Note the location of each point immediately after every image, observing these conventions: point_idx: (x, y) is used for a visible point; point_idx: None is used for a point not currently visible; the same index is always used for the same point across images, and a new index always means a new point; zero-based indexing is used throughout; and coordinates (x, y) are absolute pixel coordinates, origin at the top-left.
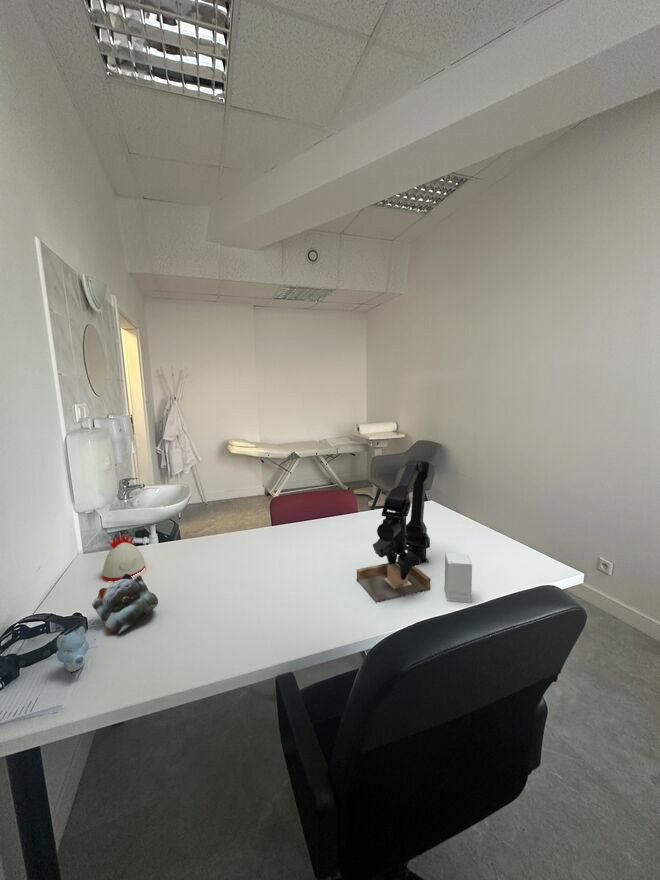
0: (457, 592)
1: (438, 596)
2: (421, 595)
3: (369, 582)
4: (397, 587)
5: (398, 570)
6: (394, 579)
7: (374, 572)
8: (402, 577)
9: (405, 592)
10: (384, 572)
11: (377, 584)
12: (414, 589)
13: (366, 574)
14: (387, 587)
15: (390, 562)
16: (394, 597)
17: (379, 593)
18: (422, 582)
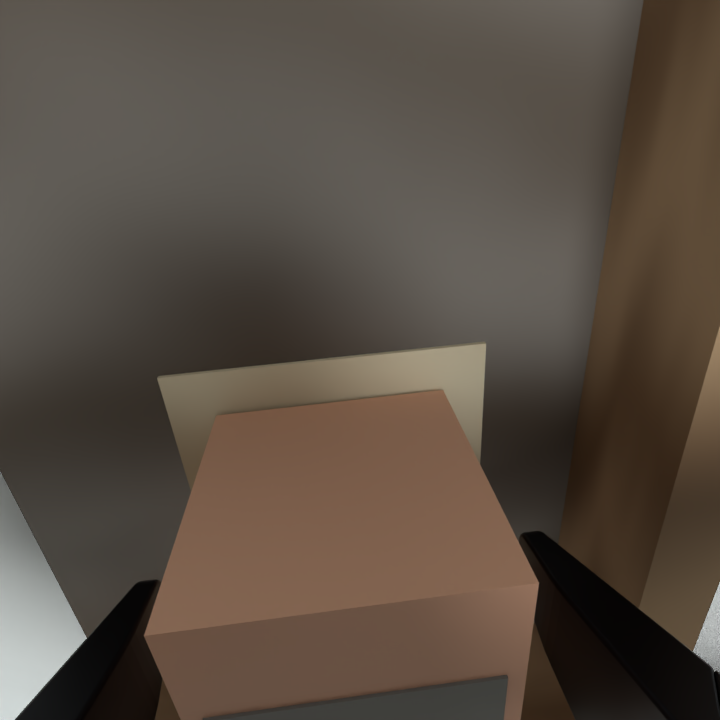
0: None
1: (6, 703)
2: (29, 597)
3: (472, 29)
4: (173, 434)
5: (196, 706)
6: (202, 482)
7: (660, 239)
8: (98, 634)
9: (32, 482)
10: (599, 412)
11: (349, 167)
12: (100, 589)
13: (700, 18)
14: (206, 299)
15: (606, 669)
16: None
17: (10, 63)
18: (174, 708)
